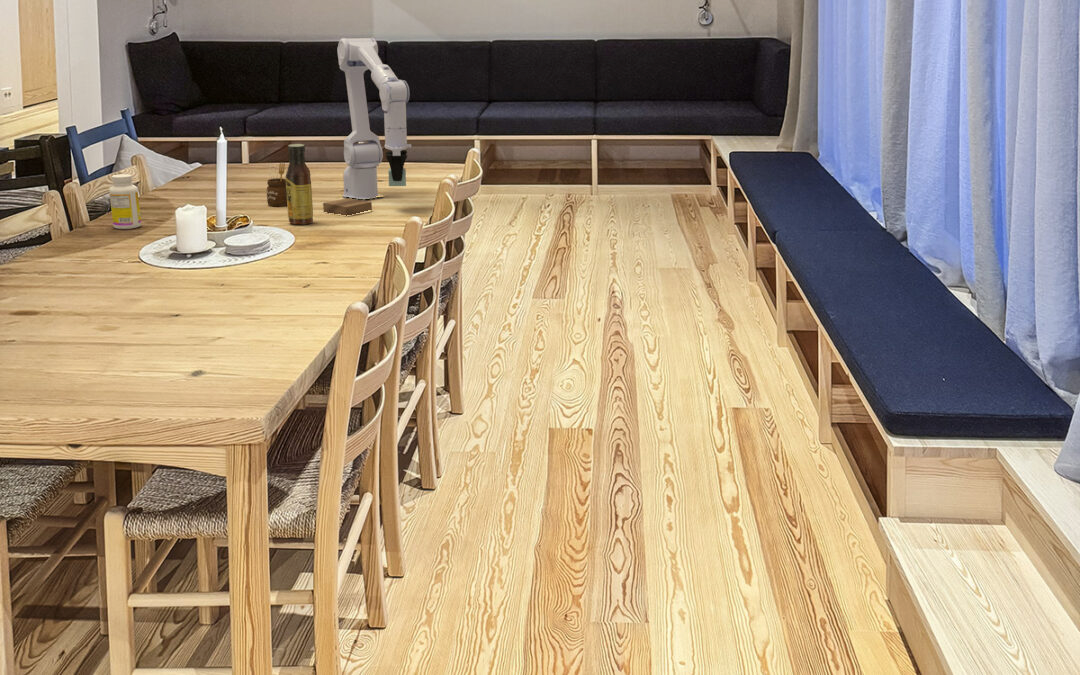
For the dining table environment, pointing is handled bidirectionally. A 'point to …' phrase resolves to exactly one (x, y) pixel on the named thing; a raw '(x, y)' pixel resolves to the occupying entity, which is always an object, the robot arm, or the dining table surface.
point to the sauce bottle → (298, 187)
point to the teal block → (397, 183)
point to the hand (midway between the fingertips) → (397, 179)
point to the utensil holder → (277, 189)
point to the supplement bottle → (124, 202)
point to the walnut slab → (347, 206)
